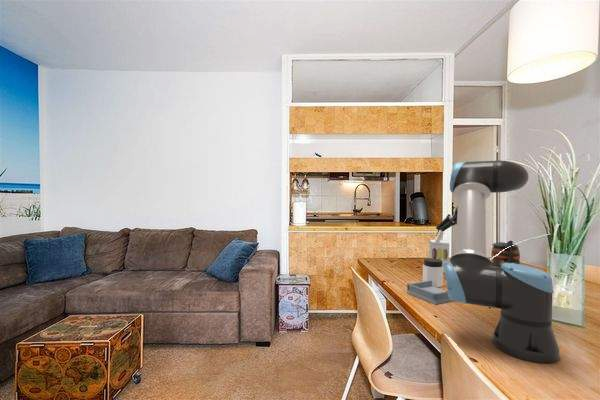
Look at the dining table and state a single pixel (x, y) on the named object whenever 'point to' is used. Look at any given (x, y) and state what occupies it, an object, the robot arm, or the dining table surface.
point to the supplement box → (439, 251)
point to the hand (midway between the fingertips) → (448, 244)
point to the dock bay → (428, 292)
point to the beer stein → (505, 254)
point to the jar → (433, 271)
